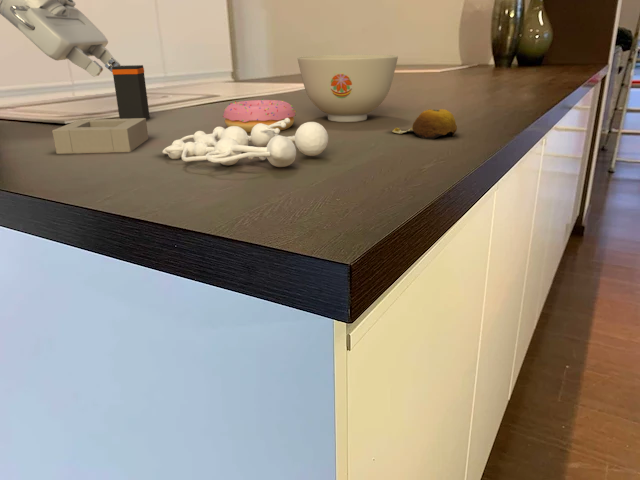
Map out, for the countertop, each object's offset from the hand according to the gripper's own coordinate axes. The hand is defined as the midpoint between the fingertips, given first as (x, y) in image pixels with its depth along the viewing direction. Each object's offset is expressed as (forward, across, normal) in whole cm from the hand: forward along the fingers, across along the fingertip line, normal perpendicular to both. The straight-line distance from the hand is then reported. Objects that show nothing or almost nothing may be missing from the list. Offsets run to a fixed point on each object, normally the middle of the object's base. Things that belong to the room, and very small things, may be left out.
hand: (108, 71), depth 90 cm
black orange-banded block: (+8, 0, +4) cm, 9 cm away
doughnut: (+24, -12, -12) cm, 29 cm away
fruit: (+41, -21, -29) cm, 54 cm away
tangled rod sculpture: (+23, -35, -11) cm, 43 cm away
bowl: (+34, -5, -22) cm, 41 cm away
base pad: (+10, -24, +2) cm, 26 cm away
